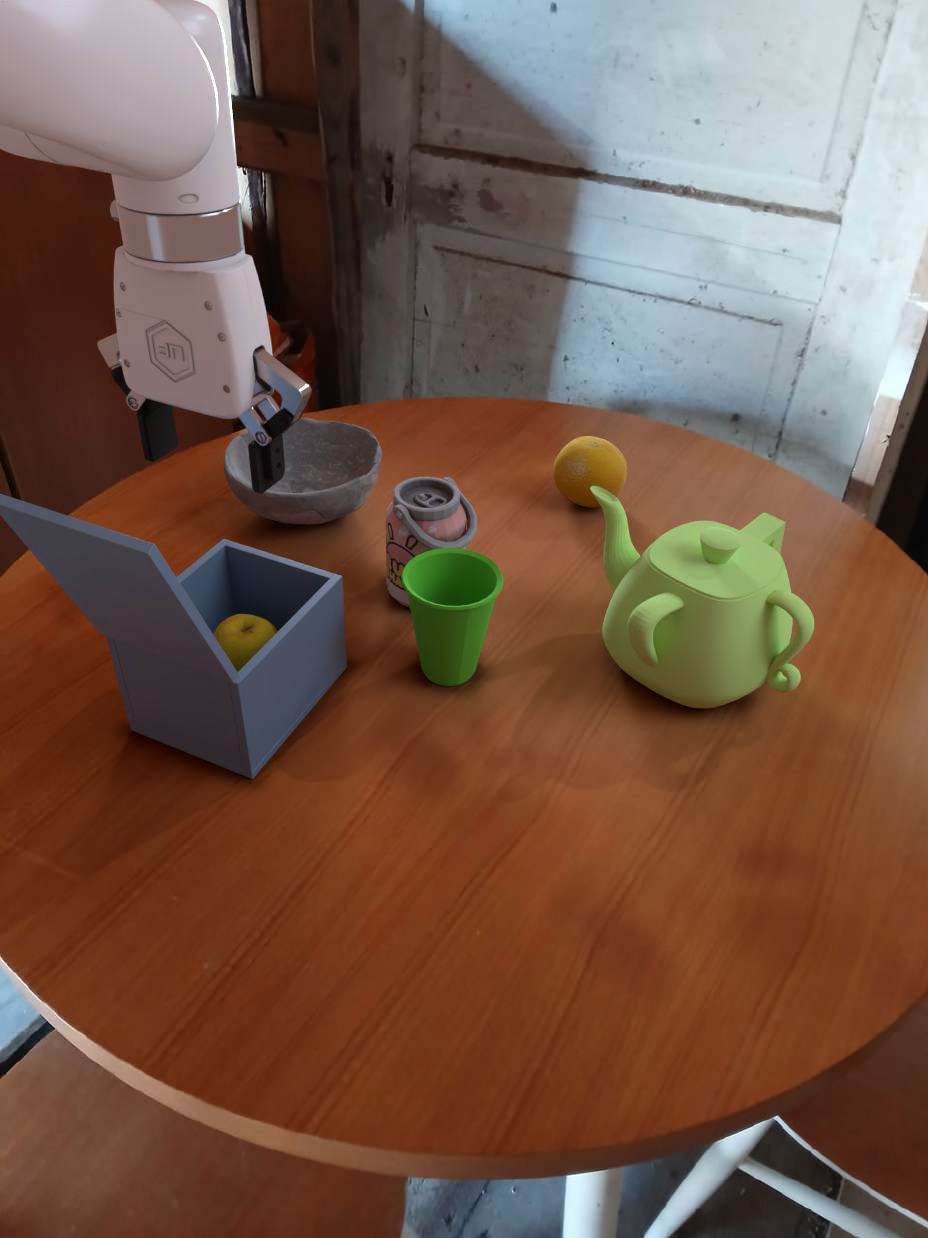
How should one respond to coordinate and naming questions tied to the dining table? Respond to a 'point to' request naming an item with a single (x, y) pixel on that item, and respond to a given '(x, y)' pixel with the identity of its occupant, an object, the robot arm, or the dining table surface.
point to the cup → (451, 610)
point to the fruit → (589, 469)
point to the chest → (267, 685)
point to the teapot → (702, 609)
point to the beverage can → (424, 525)
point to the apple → (243, 637)
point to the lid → (120, 586)
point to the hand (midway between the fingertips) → (214, 469)
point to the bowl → (310, 472)
